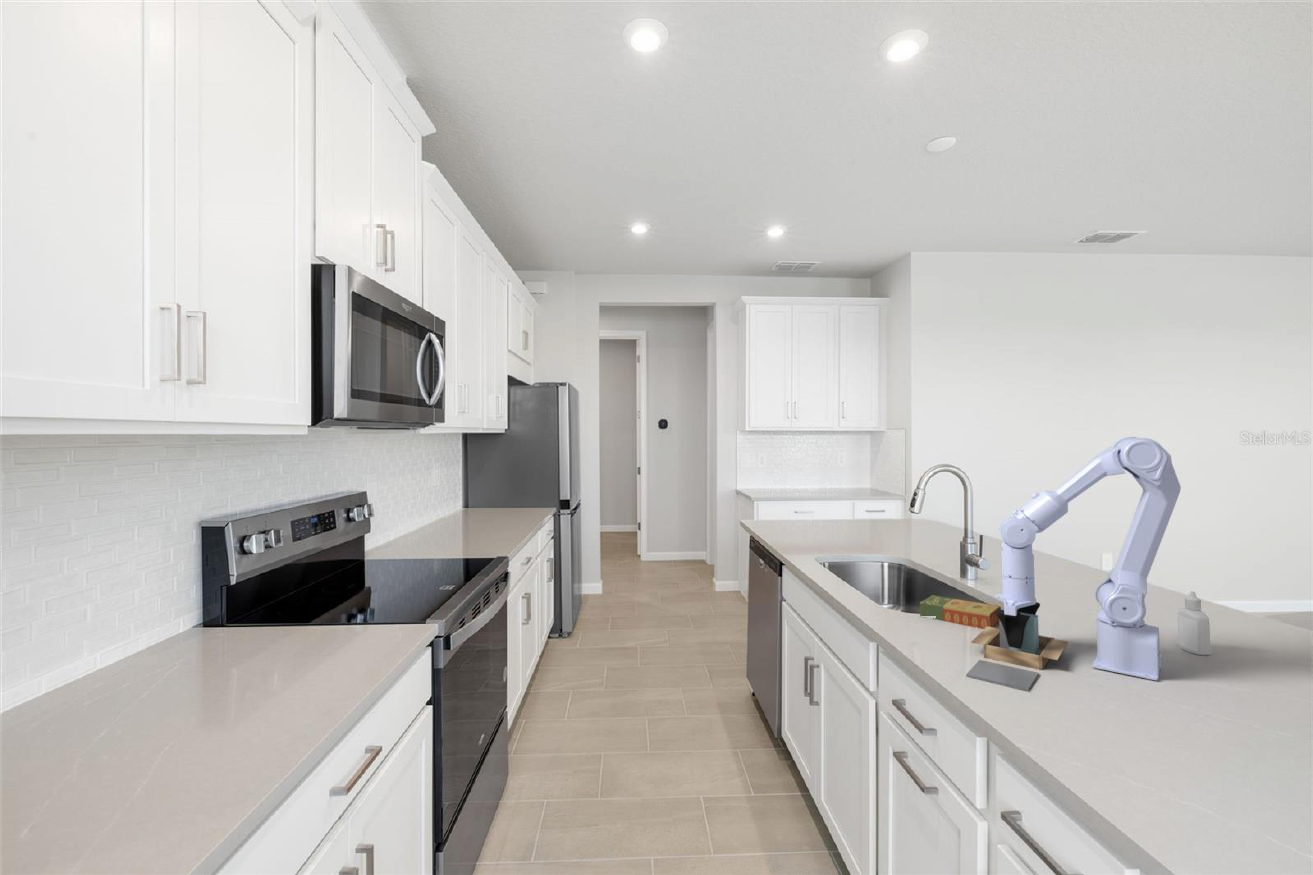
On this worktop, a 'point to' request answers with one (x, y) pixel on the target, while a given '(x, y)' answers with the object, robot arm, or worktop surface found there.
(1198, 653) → the eye dropper bottle
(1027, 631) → the capped box
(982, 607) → the carton
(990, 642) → the open carton
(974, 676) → the slate coaster
